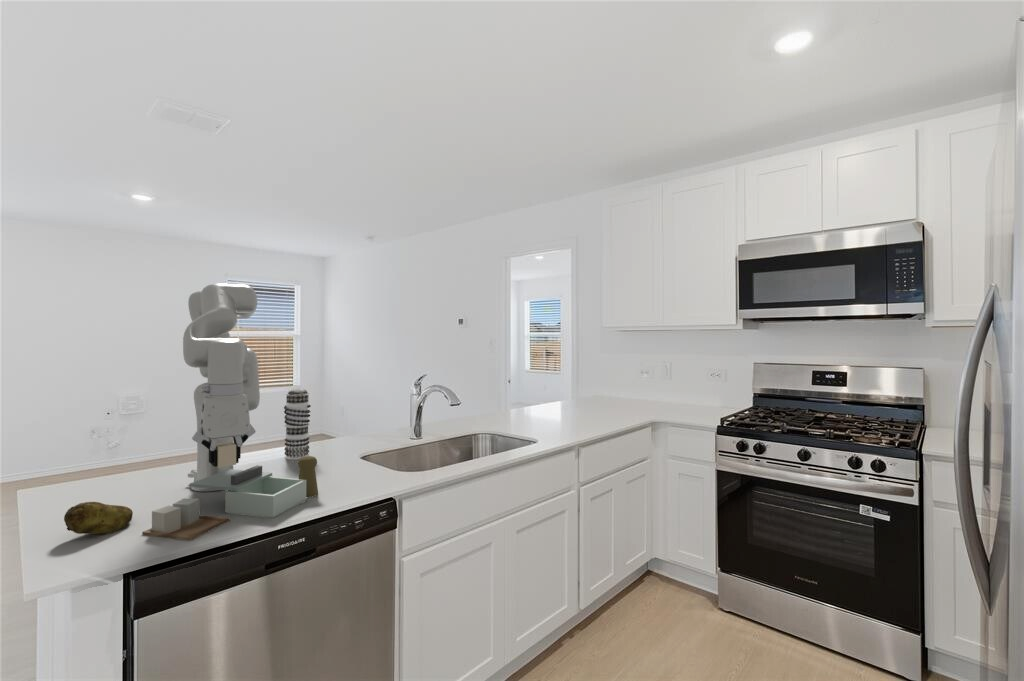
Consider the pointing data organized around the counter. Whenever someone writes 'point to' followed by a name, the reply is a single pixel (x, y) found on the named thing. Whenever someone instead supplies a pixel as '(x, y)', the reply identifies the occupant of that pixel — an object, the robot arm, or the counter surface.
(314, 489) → the cork
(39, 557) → the counter surface
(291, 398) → the decorative candle
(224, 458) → the sandstone block
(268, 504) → the bin
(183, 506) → the grey block
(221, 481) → the lid
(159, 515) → the grey block
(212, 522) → the tray
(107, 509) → the potato
